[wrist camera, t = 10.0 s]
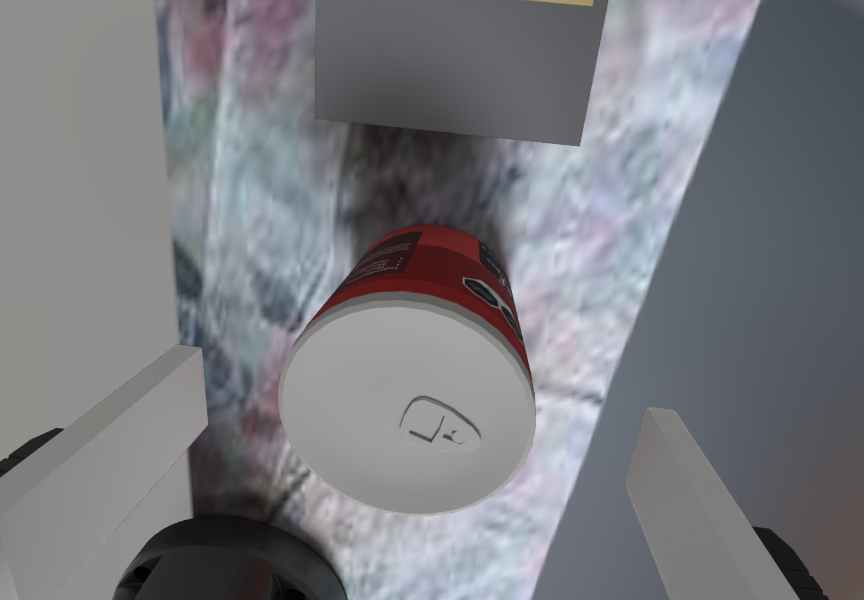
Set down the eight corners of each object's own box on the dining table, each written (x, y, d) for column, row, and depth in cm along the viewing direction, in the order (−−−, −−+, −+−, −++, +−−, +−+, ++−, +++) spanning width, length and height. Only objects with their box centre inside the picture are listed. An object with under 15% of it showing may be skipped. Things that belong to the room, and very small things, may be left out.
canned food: (497, 372, 26) (513, 536, 16) (351, 350, 26) (272, 497, 16) (525, 233, 23) (566, 322, 13) (361, 209, 24) (275, 279, 13)
